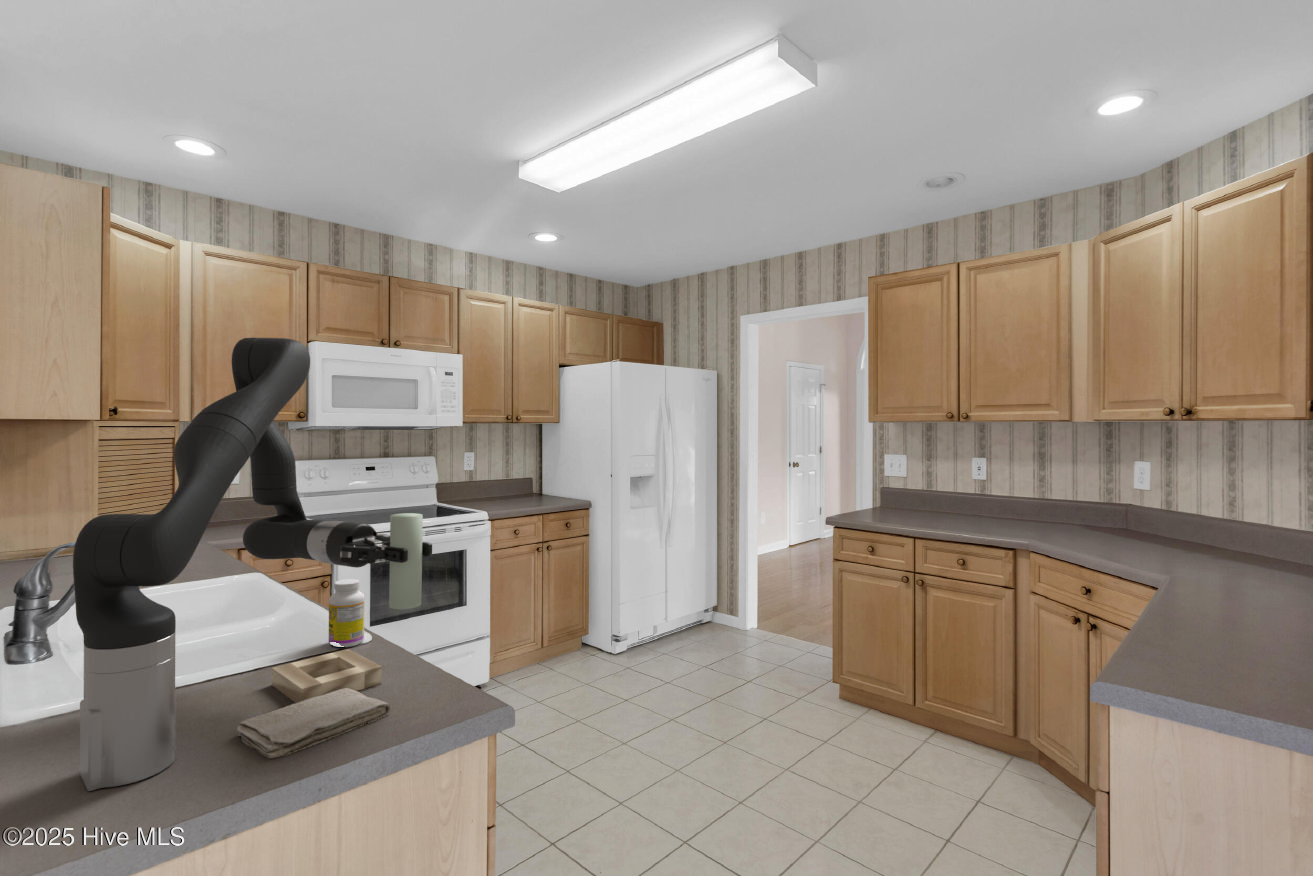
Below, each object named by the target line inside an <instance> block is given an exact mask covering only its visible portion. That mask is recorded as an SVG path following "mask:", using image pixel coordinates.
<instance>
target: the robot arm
mask: <svg viewBox="0 0 1313 876" xmlns="http://www.w3.org/2000/svg"><path fill="white" fill-rule="evenodd" d="M310 369H311V356H310V352H309V350H308V348H307V346H305V344H303V343H302V342H300V341H298V340H295V339H293V338H292V339H291V338H286V337H280V338H279V337H244V338H241V339H240V340H238V341H237V342H236V343H235V345H234V347H233V349H232V353H231V370H232V378H233V382H234V387H235V392H232V393H230V394H228V395H226V396H224V397H222V398H220V399H218V400H216V401H214V402H213V403H211V404H209V405H207V406H206V407H204V408H203V409H202V410H201V411H200V412H198V413H197V415H196V416H195V417H194V418H193V419H192V420H191V421H190V423H189V424H188V425H187V426H186V427H185V429H184V430H183V432H182V433H180V436H179V437H178V438H177V441H176V442H175V445H174V449H173V460H174V461H173V462H174V465H175V471H176V475H177V481H178V486H177V489H176V490H175V492H174V494H173V495H172V497H171V498H170V500H169V501H168V503H167V504H166V505H165V506H164V507H163V508H162V509H161V510H159V511H158V512H156V513H154V514H152V513H150V514H149V513H142V514H141V513H140V514H139V513H112V514H111V513H107V514H102V515H99V516H96V517H93V518H91V520H89V521H88V522H87V523H86V524H84V526H83V527H82V528H81V530H80V532H79V533H78V535H77V537H76V540H75V543H74V548H73V554H72V572H73V573H72V577H73V589H74V600H75V601H74V602H75V617H76V622H77V625H78V626H79V628H80V630H81V632H82V634H83V635H82V637H83V699H81V700H80V702H79V775H80V777H81V779H82V782H83V783H84V785H85V787H86V790H87V792H91V791H95V790H98V789H102V788H113V787H118V786H125V785H128V784H133V783H136V782H139V781H142V780H145V779H147V778H150V777H152V776H155V775H157V774H159V773H161V772H163V771H164V770H165V769H167V768H168V767H170V766H171V765H172V763H174V761H175V759H176V614H175V612H174V610H173V609H171V608H170V607H167V606H165V605H162V604H161V603H158V602H155V601H154V600H152V599H151V598H149V597H148V596H146V595H145V594H144V593H143V591H141V589H140V587H158V586H162V585H163V586H164V585H166V584H169V583H171V582H172V581H174V580H175V579H176V578H177V577H179V576H180V574H181V573H182V572H183V571H184V570H185V568H186V567H187V565H188V564H189V563H190V561H191V559H192V558H193V556H194V554H195V552H196V549H197V548H198V547H199V546H198V545H199V544H200V542H201V540H202V537H203V535H204V534H205V531H206V529H207V527H208V525H209V523H210V522H211V519H212V517H213V515H214V514H215V512H216V510H217V508H218V506H219V505H220V502H221V501H222V500H223V498H224V496H225V494H226V493H227V491H228V489H229V488H230V486H231V484H232V483H233V481H234V480H235V479H236V477H237V476H238V474H239V473H240V472H241V470H242V468H244V466H245V464H247V461H248V460H249V459H250V475H251V487H252V488H251V493H252V500H253V501H254V502H255V503H256V504H258V505H262V506H274V508H275V510H276V514H277V515H274V516H270V517H265V518H261V519H260V518H259V519H258V520H255V521H253V522H251V523H250V524H249V525H248V526H246V528H245V530H244V532H243V534H242V544H243V545H244V549H246V551H247V552H248V553H249V554H250V555H252V556H254V557H255V558H258V559H262V560H287V559H306V560H311V561H319V562H322V563H324V564H328V565H336V566H343V567H350V568H357V569H358V568H361V567H365V566H366V565H368V564H369V565H372V564H375V563H385V562H390V561H392V562H400V563H404V562H407V560H408V550H407V549H406V548H398V547H390V535H388V534H385V533H377V531H376V529H375V528H374V527H373V526H371V525H370V524H368V523H361V522H354V521H353V522H352V521H342V520H319V519H308V518H307V517H306V513H305V511H304V509H303V505H302V502H301V499H300V497H299V494H298V491H297V488H298V486H297V468H296V467H297V465H296V459H295V454H294V452H293V449H292V447H291V446H290V443H289V442H288V440H287V439H286V437H285V436H284V435H283V433H282V431H281V430H280V429H279V428H278V425H277V424H276V423H275V421H274V420H275V419H276V417H278V414H280V412H281V411H282V410H283V409H284V408H285V406H286V405H287V404H288V403H289V401H291V399H292V398H293V397H294V396H295V395H296V394H297V393H298V391H300V390H301V388H302V387H303V385H304V384H305V381H306V380H307V378H308V375H309V372H310ZM432 555H433V544H432V543H431V542H426V541H422V557H431V556H432Z"/></svg>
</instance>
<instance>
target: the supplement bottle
mask: <svg viewBox="0 0 1313 876" xmlns="http://www.w3.org/2000/svg"><path fill="white" fill-rule="evenodd" d="M333 584H334V587H333V588H334V592H335V593H333V594H332V595H330V597H329V599H328V643H329V642H336V643H339V644H340V645H341V646H344V647H345V648H350V647H351V648H352V647H355V646H358V645H360V644H361V643H363V642H364V640H365V595H364V593H363V592H361V591H360V590H359V588H360V585H361V584H360V580H359V579H357V578H346V579H339V580H336V581H335V582H334V583H333Z"/></svg>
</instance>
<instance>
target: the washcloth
mask: <svg viewBox="0 0 1313 876" xmlns="http://www.w3.org/2000/svg"><path fill="white" fill-rule="evenodd" d="M391 710H392V707H391V705H390V703H387V702H386V701H383V700H380V699H378V698H377V699H376V698H375V697H369V696H367V695H366V694H363V693H361V692H360V691H355V690H352V689H349V688H344V689H340V690H337V691H333V692H330V693H328V694H325V695H322V696H316V697H313V698H311V699H307V700H305V701H301V702H299V703H295V702H294V703H292V704H289V705H286V706H285V707H281V708H279V709H274V710H273V711H269V712H266V713H264V714H259V715H256V716H253V717H251V718H246V719H244V720H242V721H241V722H240V723H239V724H238V727H237V728H236V732H238V733H237V737H238V736H240V737H241V741H242V743H244V744H245V745H247V746H248V747H249V748H251V749H254V748H255V749H256V751H257V752H258V753H259V754H261V755H263V756H264V757H265V758H268V759H275V758H280V757H285V756H288V755H291V754H292V753H297V752H298V750H299V751H302V750H304V749H305V750H306V749H307V748H306V747H308V748H310V747H312V745H313V746H315V745H317V744H321V743H322V742H325V741H327V739H328V740H330V739H333V738H335V737H338V736H340V734H341V735H343V734H346V733H348V732H350V731H353V730H355V729H357V727H358V728H360V727H362V726H361V725H363V726H365V725H367V724H366V723H368V724H370V722H371V723H372V722H376V721H378V720H381V719H383V718H385V717H387V716H388V714H390V711H391ZM382 717H383V718H382ZM380 718H381V719H380ZM377 719H378V720H377ZM364 724H365V725H364ZM359 726H360V727H359ZM354 728H355V729H354ZM352 729H353V730H352ZM345 732H346V733H345ZM332 737H333V738H332ZM255 749H254V750H255ZM301 749H302V750H301ZM296 750H297V751H296Z"/></svg>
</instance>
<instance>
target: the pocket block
mask: <svg viewBox="0 0 1313 876" xmlns="http://www.w3.org/2000/svg"><path fill="white" fill-rule="evenodd" d="M382 675H383V674H382V665H380V664H377V663H376V662H374V661H372V660H371V659H369V658H367V657H365V656H362V655H361V654H360V653H357V652H355V651H354V650H351V649H349V648H346V649H345V648H344V649H343V650H337V651H334V652H331V653H326V654H322V655H318V656H313V657H310V658H306V659H302V660H298V661H293V662H290V663H285V664H282V665H278V666H274V667H271V686H272V687H274V688H275V689H276V690H278V691H279V692H280V691H281V693H282V694H283V695H284V694H285V695H284V696H286V697H287V698H288V699H290V700H291V701H293V702H294V704H295V703H299V702H301V701H305V700H307V699H311V698H313V697H316V696H322V695H325V694H328V693H330V692H333V691H337V690H340V689H344V688H349V689H352V690H355V691H357V692H359V691H362V690H365V689H368V688H371V687H375V686H377V685H381V684H382V679H383V678H382Z"/></svg>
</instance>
